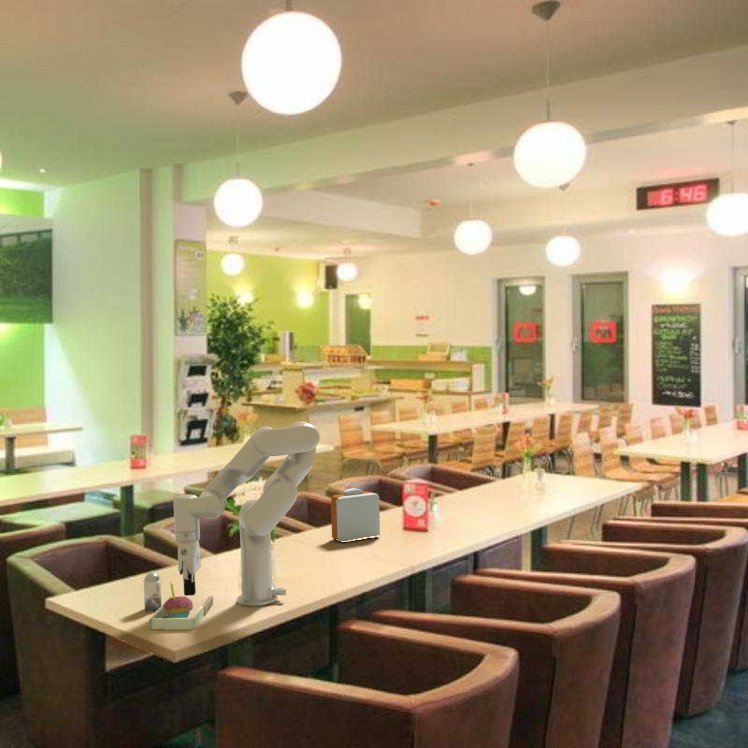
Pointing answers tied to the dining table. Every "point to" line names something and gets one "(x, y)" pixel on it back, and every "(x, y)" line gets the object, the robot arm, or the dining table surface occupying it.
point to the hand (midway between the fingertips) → (189, 594)
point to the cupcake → (177, 606)
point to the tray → (175, 620)
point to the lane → (207, 604)
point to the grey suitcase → (355, 515)
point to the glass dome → (152, 592)
